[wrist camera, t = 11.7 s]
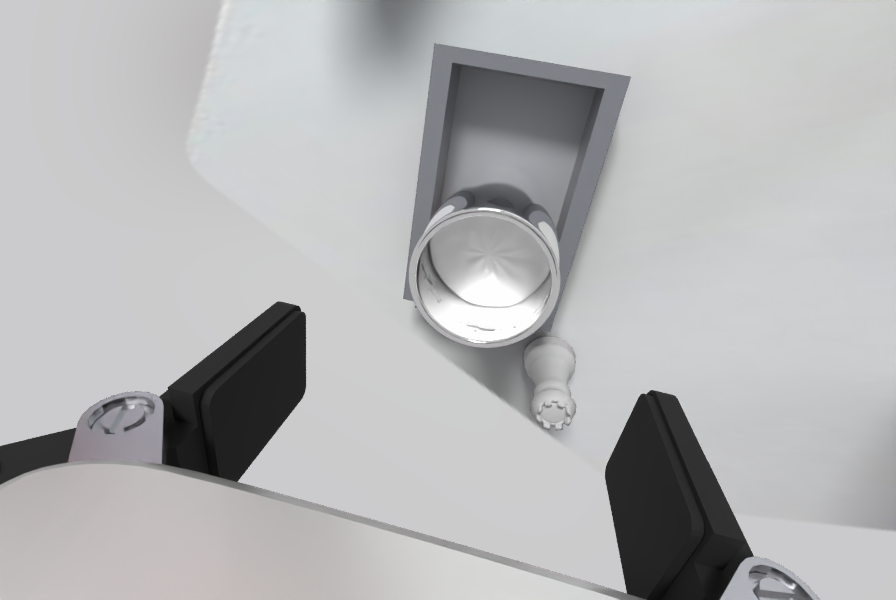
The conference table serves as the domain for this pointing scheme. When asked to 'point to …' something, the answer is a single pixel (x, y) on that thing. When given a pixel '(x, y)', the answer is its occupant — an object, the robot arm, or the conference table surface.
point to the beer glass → (488, 261)
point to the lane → (516, 135)
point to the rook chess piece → (551, 380)
